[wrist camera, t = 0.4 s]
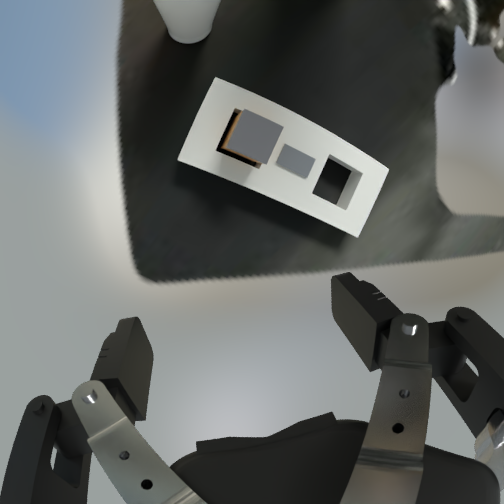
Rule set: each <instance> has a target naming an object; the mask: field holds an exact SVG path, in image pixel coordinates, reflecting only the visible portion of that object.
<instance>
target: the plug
mask: <svg viewBox="0 0 504 504" xmlns="http://www.w3.org/2000/svg"><path fill="white" fill-rule="evenodd" d="M283 128H284V127H283V126H281V125H279V124H277V123H275V122H273V121H271V120H269V119H267V118H264V117H262V116H260V115H258V114H256V113H253V112H251V111H249V110H247V109H244V110H243V111H242V112H240V113H239V114H238V115H237V116H236V117H235V118H234V120H233V122H232V124H231V127H230V129H229V131H228V133H227V135H226V137H225V140H224V142H223V144H222V146H221V148H222V149H225V150H227V151H230V152H232V153H234V154H237V155H239V156H242V157H244V158H246V159H249V160H251V161H254V162H258V163H262V164H266V165H267V163H268V160H269V158H270V156H271V154H272V152H273V149H274V147H275V145H276V143H277V141H278V138H279V136H280V134H281V132H282V130H283Z"/></svg>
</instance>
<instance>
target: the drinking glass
mask: <svg viewBox="0 0 504 504" xmlns="http://www.w3.org/2000/svg"><path fill="white" fill-rule="evenodd" d="M153 2H154V3H155V5H156V7H157V9H158V11H159V13H160V15H161V17H162V19H163V20H164V22H165V24H166V26H167V29H168V32H169V34H170V36H171V37H172V38H173V39H174V40H176V41H178V42H180V43H186V44H190V43H195V42H198V41H201V40H202V39H204V38H205V37H206V36H207V35H208V34H209V33H210V31H211V29H212V25H213V21H214V18H215V15H216V13H217V10H218V7H219V5H220V2H221V0H153Z"/></svg>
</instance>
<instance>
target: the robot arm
mask: <svg viewBox="0 0 504 504" xmlns="http://www.w3.org/2000/svg"><path fill="white" fill-rule="evenodd" d="M331 292H332V293H331V297H332V313H333V317H334V319H335V321H336V323H337V324H338V326H339V327H340V329H341V330H342V332H343V333H344V334H345V336H346V337H347V339H348V340H349V342H350V343H351V345H352V346H353V347H354V349H355V350H356V352H357V353H358V355H359V356H360V358H361V359H362V361H363V362H364V364H365V365H366V367H367V368H368V370H369V371H370V372H371V371H374V370H376V369H379V368H380V369H381V370H382V374H381V378H380V383H379V387H378V391H377V395H376V399H375V403H374V407H373V411H372V414H371V418H370V421H369V423H368V422H365V421H359V420H348V419H347V420H346V419H345V420H336V418H335V416H334V414H333V412H329V413H326V414H323V415H320V416H317V417H313V418H310V419H307V420H303V421H300V422H298V423H296V424H294V425H292V426H290V427H288V428H286V429H284V430H281V431H280V432H277V433H275V434H273V435H271V436H268V437H256V438H255V437H226V438H220V439H212V440H205V441H197V442H196V447H197V451H195V452H193V453H190V454H188V455H186V456H184V457H182V458H181V459H179V460H178V461H176V462H175V463H173V464H172V465H171V466H170V467H169V466H168V465H167V464H166V463H165V462H164V461H163V460H162V459H161V458H160V457H159V455H158V454H157V453H156V452H155V451H154V450H153V449H152V447H151V446H150V445H149V444H148V443H147V442H146V440H145V439H144V438H143V437H142V436H141V434H140V433H139V432H138V431H137V429H136V428H135V427H134V426H135V421H143V420H146V411H147V403H148V395H149V387H150V380H151V373H152V366H153V351H152V347H151V344H150V342H149V340H148V338H147V335H146V333H145V331H144V328H143V326H142V323H141V321H140V319H139V318H138V317H132V318H126V319H121V320H120V321H119V323H118V326H117V328H116V331H115V332H113V333H111V334H110V335H109V336H108V337H107V338H106V339H105V341H104V343H103V345H102V348H101V351H100V353H99V356H98V357H99V358H98V359H97V361H96V364H95V367H94V370H93V373H92V376H91V379H90V381H87V382H85V383H83V384H81V385H80V386H78V387H77V388H76V390H75V391H74V392H73V394H72V399H71V400H68V401H65V402H62V403H58V404H55V402H54V401H53V400H52V399H51V397H49V396H46V395H41V396H38V397H36V398H34V399H33V400H31V401H30V402H29V404H28V405H27V407H26V409H25V412H24V415H23V417H22V420H21V423H20V426H19V429H18V432H17V435H16V438H15V441H14V444H13V447H12V451H11V454H10V458H9V461H8V465H7V469H6V473H5V477H4V481H3V486H2V491H1V495H0V504H87V493H88V482H89V481H88V480H89V472H90V463H91V455H92V452H93V453H94V454H95V456H96V458H97V460H98V461H99V463H100V465H101V466H102V468H103V469H104V471H105V473H106V474H107V476H108V477H109V479H110V480H111V482H112V483H113V485H114V486H115V488H116V489H117V491H118V492H119V494H120V495H121V496H122V498H123V499H124V501H125V502H126V503H127V504H500V491H501V490H503V489H504V338H503V337H502V336H501V335H499V333H498V332H496V331H495V330H494V329H493V328H492V327H491V326H490V325H489V324H488V323H487V322H486V321H484V320H483V319H482V318H481V317H480V316H479V315H478V314H477V313H476V312H474V311H473V310H471V309H469V308H465V307H455V308H452V309H450V310H449V311H448V312H447V315H446V319H445V321H440V322H433V323H428V322H427V321H426V320H425V319H424V318H423V317H421V316H419V315H416V314H409V313H406V314H403V312H401V311H400V310H399V309H398V308H397V307H396V306H395V305H394V304H393V303H392V302H391V301H390V300H389V299H388V298H386V296H385V295H384V294H383V293H382V292H381V293H380V290H378V289H377V288H376V287H375V286H374V285H373V284H371V283H368V282H366V281H364V280H363V281H359V280H358V279H357V278H356V277H355V276H354V275H353V274H352V273H350V272H347V273H343V274H339V275H335V276H332V279H331ZM467 358H468V359H469V360H470V361H471V362H472V363H473V364H474V365H475V367H476V368H477V370H478V374H479V377H478V376H477V375H476V374H475V373H474V372H473V371H472V369H471V368H470V367H469V366H468V365H467V363H466V359H467ZM432 378H434V379H435V380H436V382H437V383H438V384H439V386H440V387H441V389H442V390H443V392H444V393H445V394H446V396H447V397H448V398H449V400H450V401H451V403H452V404H453V406H454V407H455V408H456V410H457V411H458V413H459V414H460V415H461V417H462V418H463V420H464V421H465V423H466V424H467V426H468V427H469V429H470V430H471V432H472V433H473V435H474V436H475V438H476V441H475V446H474V447H475V452H476V454H475V459H471V458H467V457H464V456H460V455H457V454H454V453H451V452H447V451H444V450H441V449H438V448H435V447H432V446H429V445H426V444H425V440H426V433H427V425H428V418H429V408H430V397H431V382H432ZM53 447H54V448H56V449H57V453H56V458H55V464H54V469H53V470H52V467H51V463H50V460H51V454H52V450H53Z"/></svg>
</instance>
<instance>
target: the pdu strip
mask: <svg viewBox="0 0 504 504" xmlns="http://www.w3.org/2000/svg"><path fill="white" fill-rule="evenodd" d="M244 109H247V110H249V111H251V112H253V113H256V114H258V115H260V116H262V117H264V118H267V119H269V120H271V121H273V122H275V123H277V124H279V125H281V126H283V127H284V128H283V130H282V132H281V134H280V136H279V138H278V141H277V143H276V145H275V147H274V149H273V152H272V154H271V156H270V158H269V160H268V163H267V165H266V164H262V163H258V162H257V163H256V165H255V167H253V166H251V165H248V164H246V163H244V162H241V161H239V160H237V159H234V158H232V157H230V156H227V155H225V154H222V153H220V152H217V151H215V150H216V148H217V146H218V144H219V141H220V139H221V137H222V135H223V133H224V130H225V128H226V126H227V124H228V122H229V120H230V117H231V115H232V113H233V112H235V113H238V114H239V113H240V112H242V111H243V110H244ZM328 158H330V159H332V160H333V161H335V162H337V163H339V164H340V165H342V166H344V167H346V168H347V169H349V170H351V174H350V176H349V178H348V180H347V182H346V185H345V187H344V189H343V191H342V193H341V196H340V198H339V200H338V202H337V204H336V205H334V204H332V203H330V202H328V201H326V200H324V199H322V198H320V197H318V196H316V195H314V194H312V191H313V189H314V187H315V185H316V183H317V180H318V178H319V176H320V174H321V172H322V170H323V167H324V165H325V163H326V161H327V159H328ZM178 160H179V161H181V162H184V163H187V164H189V165H192V166H195V167H197V168H200V169H202V170H205V171H207V172H210V173H212V174H215V175H218V176H220V177H223V178H225V179H228V180H230V181H232V182H235V183H237V184H240V185H242V186H245V187H247V188H249V189H252V190H254V191H257V192H259V193H261V194H264V195H266V196H268V197H271V198H273V199H275V200H277V201H280V202H282V203H284V204H287V205H289V206H291V207H293V208H296V209H298V210H300V211H302V212H304V213H307V214H309V215H311V216H313V217H315V218H318V219H320V220H322V221H324V222H326V223H328V224H330V225H333V226H335V227H337V228H339V229H341V230H343V231H345V232H347V233H349V234H351V235H353V236H355V237H358V236H359V234H360V232H361V230H362V228H363V226H364V224H365V222H366V220H367V218H368V215H369V213H370V211H371V209H372V207H373V205H374V203H375V200H376V198H377V196H378V194H379V191H380V189H381V187H382V185H383V182H384V180H385V178H386V175H387V173H388V171H389V169H388V168H386V167H385V166H383V165H382V164H381V163H379V162H378V161H376V160H375V159H373V158H371V157H370V156H368V155H367V154H365V153H364V152H362V151H361V150H359V149H357V148H356V147H354V146H353V145H351V144H349V143H348V142H346V141H344V140H343V139H341V138H339V137H338V136H336V135H334V134H333V133H331V132H329V131H327V130H326V129H324V128H322V127H320V126H318V125H317V124H315V123H313V122H311V121H309V120H307V119H306V118H304V117H302V116H300V115H298V114H296V113H294V112H292V111H290V110H288V109H286V108H284V107H282V106H280V105H278V104H276V103H274V102H272V101H270V100H268V99H265V98H263V97H261V96H259V95H257V94H255V93H252V92H250V91H248V90H245V89H243V88H241V87H238V86H236V85H234V84H231V83H229V82H226V81H224V80H221V79H219V78H216V77H215V79H214V81H213V83H212V85H211V87H210V89H209V91H208V93H207V95H206V97H205V99H204V101H203V103H202V105H201V107H200V110H199V112H198V114H197V116H196V118H195V120H194V123H193V125H192V127H191V129H190V132H189V134H188V136H187V138H186V141H185V143H184V145H183V148H182V150H181V152H180V155H179V157H178Z"/></svg>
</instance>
